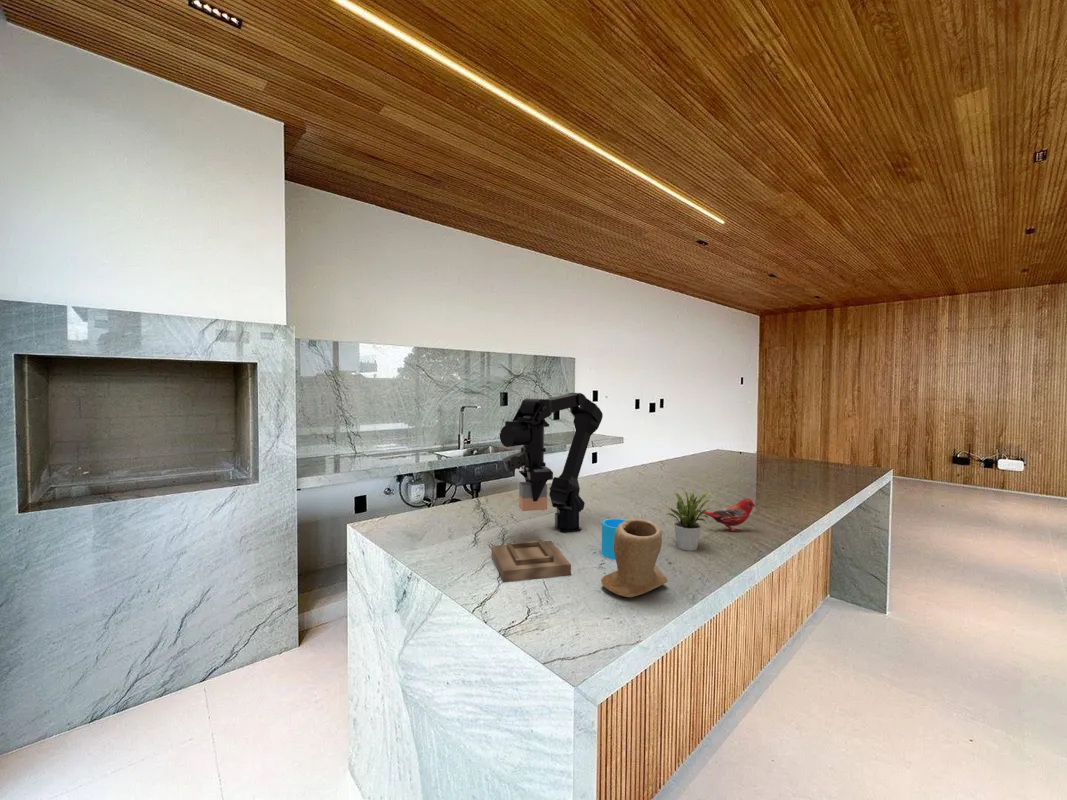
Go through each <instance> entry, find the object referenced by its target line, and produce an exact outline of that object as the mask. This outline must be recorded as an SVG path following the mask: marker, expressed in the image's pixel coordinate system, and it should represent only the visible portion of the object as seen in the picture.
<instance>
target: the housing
mask: <svg viewBox="0 0 1067 800" xmlns="http://www.w3.org/2000/svg"><path fill="white" fill-rule="evenodd" d="M518 483H519V484H518V486H519V487H518V491H519V492H518V493H519V494H518V507H519V509H520V510H521V511H522V512H530V511H531V512H533V511H546V510H548V483H546V484H545V486H544V488H543V490H542V492H541V494H540V496H539V499H538V501H535V502H534V501H533V497H532V490H531V483H530V482H525V481H519V482H518Z"/></svg>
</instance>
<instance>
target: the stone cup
mask: <svg viewBox="0 0 1067 800" xmlns="http://www.w3.org/2000/svg"><path fill="white" fill-rule="evenodd" d="M625 520H626V521H624V522H622V523H621V524H619V525H618V527H617V528H616V531H615V536H614V555H615V559H616V560H615V563H616V567H617V570H615V571H612V572H610V573H608V574H605V575H604V576H602V577H601V578H600V582H601V585H602V586H603V587H604V588H605V589H607V591H609V592H611V593H613V594H615V595H617V596H621V597H625V598H633V597H638V596H640V595H644V594H646V593H649V592H650V591H652V590H655V589H656V588H658V587H661V586H663V585H665V584H667V583H668V582H669V580H668V578H667V576H666V574H664V572H662V570H661V569H659V567H658V566H657V565H656V564H657V560H658V558H659V555H660V553H661V550H662V544H663V538H662V531H661V528H660V527H659V526H658V525H657V524H656V523H654V522H652V521H651V520H648V519H644V518H628V519H625Z"/></svg>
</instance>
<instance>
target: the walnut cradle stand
mask: <svg viewBox="0 0 1067 800" xmlns="http://www.w3.org/2000/svg"><path fill="white" fill-rule="evenodd" d="M491 557H492V560H493V561H494V564H495V566H496V569H497V571H498V573H499V576H500V578H501V580H502V582H503V583H505V582H514V581H515V582H516V581H526V580H534V579H535V580H536V579H546V578H553V577H555V578H556V577H563V576H571V575H572V564H571V563H570V561H569V560H568V559H567V558H566V557H565V556H564V554H563V552H561V550H560V549H559V548H558V547H557V546H556V545H555V544H554V542H553V541H552V540H547V541H546V540H545V541H543V540H529V541H519V542H517V541H516V542H507V543H506V544H499V545H491Z"/></svg>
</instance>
